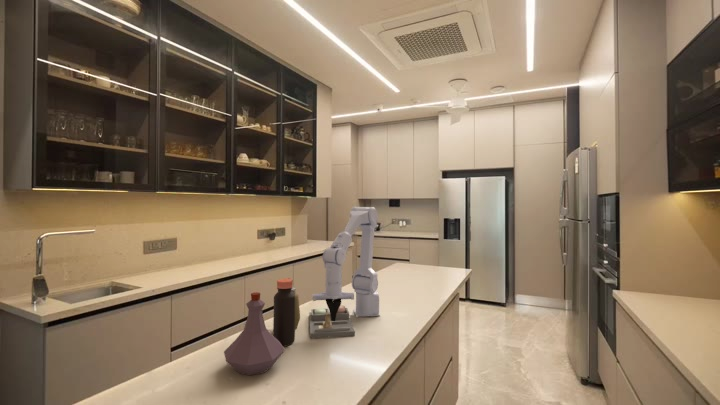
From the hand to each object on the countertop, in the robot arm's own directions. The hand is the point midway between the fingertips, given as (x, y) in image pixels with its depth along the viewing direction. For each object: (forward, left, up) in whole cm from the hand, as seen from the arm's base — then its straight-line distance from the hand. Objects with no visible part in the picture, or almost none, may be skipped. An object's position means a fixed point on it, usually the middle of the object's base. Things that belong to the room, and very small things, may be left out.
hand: (333, 320), depth 115 cm
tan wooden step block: (+2, 0, -2) cm, 3 cm away
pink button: (-4, -11, -1) cm, 12 cm away
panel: (0, -6, -4) cm, 7 cm away
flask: (+23, +22, -4) cm, 32 cm away
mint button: (+4, -11, -2) cm, 12 cm away
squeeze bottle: (+15, -5, -4) cm, 17 cm away
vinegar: (+16, +7, -4) cm, 18 cm away
